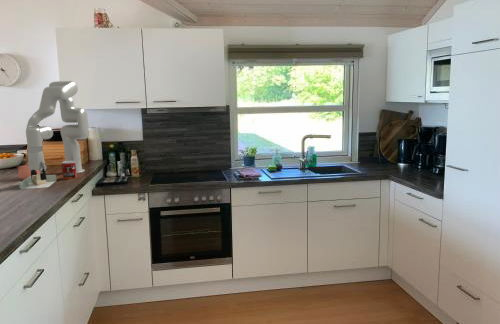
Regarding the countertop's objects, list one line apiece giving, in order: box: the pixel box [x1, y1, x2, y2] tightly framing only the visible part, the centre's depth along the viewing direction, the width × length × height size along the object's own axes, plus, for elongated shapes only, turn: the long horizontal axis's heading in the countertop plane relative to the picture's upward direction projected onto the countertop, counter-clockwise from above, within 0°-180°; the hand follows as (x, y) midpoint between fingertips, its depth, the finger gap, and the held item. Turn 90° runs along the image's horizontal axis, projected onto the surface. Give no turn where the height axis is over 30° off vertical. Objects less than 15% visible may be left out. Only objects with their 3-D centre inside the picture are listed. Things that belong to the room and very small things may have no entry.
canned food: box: [61, 160, 78, 180], centre depth 251 cm, size 8×8×11 cm
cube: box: [32, 174, 46, 185], centre depth 237 cm, size 5×5×5 cm
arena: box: [18, 174, 57, 190], centre depth 235 cm, size 18×14×4 cm
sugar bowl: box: [17, 162, 40, 181], centre depth 255 cm, size 12×14×10 cm
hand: (39, 179), depth 237 cm, fingers open, 9 cm apart
